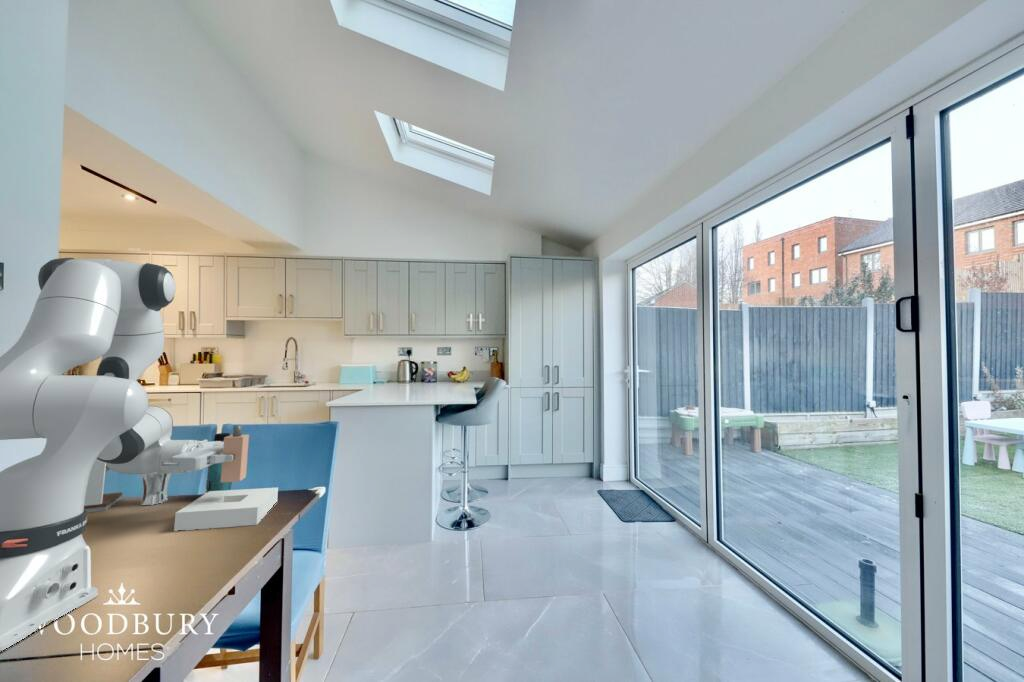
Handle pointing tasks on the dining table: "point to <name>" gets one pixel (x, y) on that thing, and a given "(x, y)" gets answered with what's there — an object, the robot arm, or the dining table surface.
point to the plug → (239, 448)
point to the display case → (98, 490)
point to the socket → (226, 509)
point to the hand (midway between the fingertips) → (239, 455)
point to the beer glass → (154, 488)
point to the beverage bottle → (217, 472)
